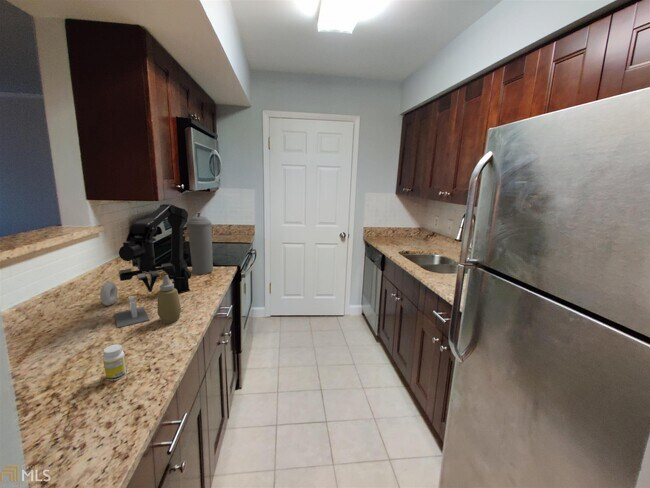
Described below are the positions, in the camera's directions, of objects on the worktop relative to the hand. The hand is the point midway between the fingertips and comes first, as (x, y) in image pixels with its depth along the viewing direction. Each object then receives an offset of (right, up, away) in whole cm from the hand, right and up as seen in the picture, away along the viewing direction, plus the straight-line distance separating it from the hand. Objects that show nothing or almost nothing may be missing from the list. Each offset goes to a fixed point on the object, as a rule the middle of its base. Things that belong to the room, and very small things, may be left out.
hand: (150, 291), depth 118 cm
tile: (-5, -8, -2) cm, 10 cm away
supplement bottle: (+13, -17, -38) cm, 44 cm away
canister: (0, +3, +52) cm, 52 cm away
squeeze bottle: (+11, -10, -6) cm, 16 cm away
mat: (-5, -9, -4) cm, 11 cm away
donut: (-21, -7, +7) cm, 23 cm away
